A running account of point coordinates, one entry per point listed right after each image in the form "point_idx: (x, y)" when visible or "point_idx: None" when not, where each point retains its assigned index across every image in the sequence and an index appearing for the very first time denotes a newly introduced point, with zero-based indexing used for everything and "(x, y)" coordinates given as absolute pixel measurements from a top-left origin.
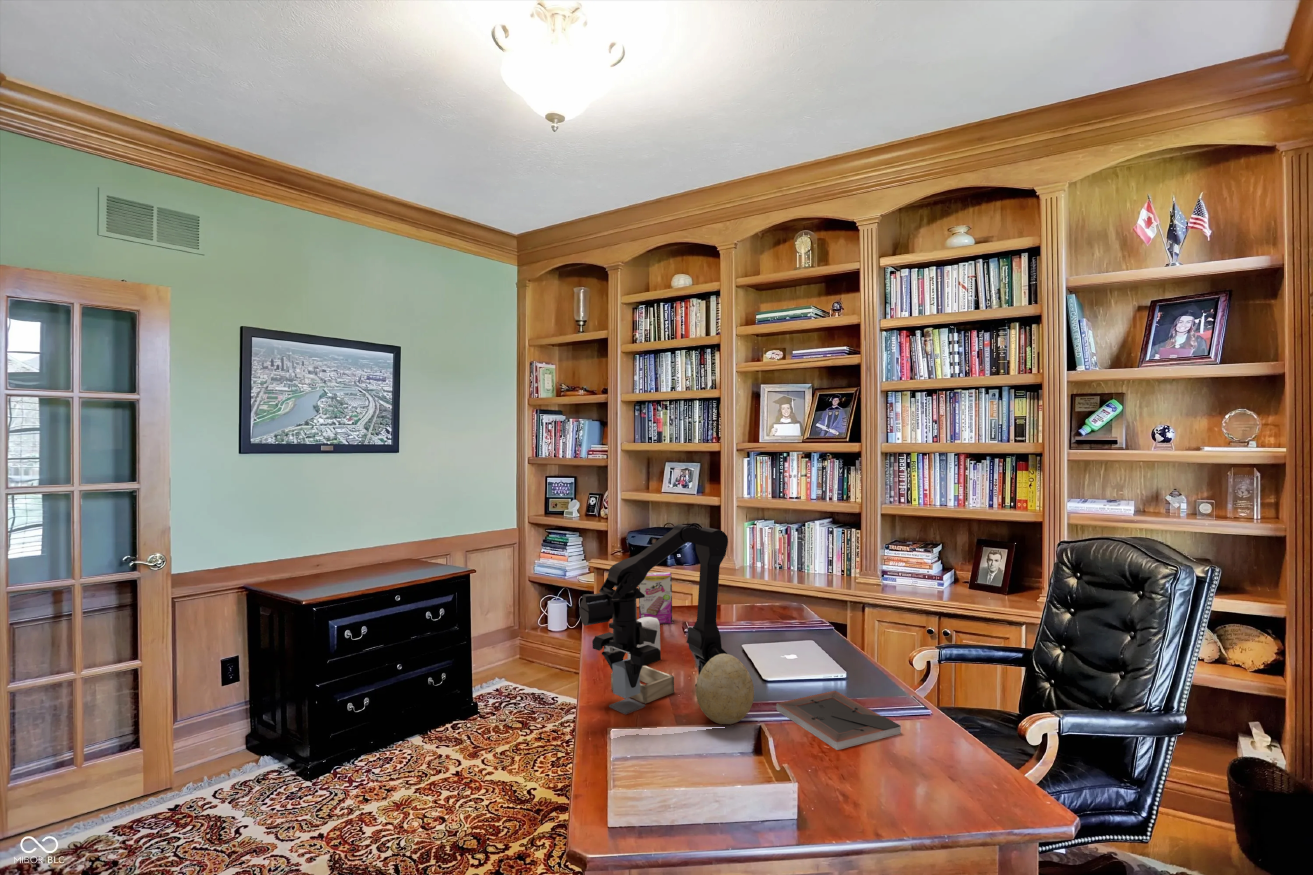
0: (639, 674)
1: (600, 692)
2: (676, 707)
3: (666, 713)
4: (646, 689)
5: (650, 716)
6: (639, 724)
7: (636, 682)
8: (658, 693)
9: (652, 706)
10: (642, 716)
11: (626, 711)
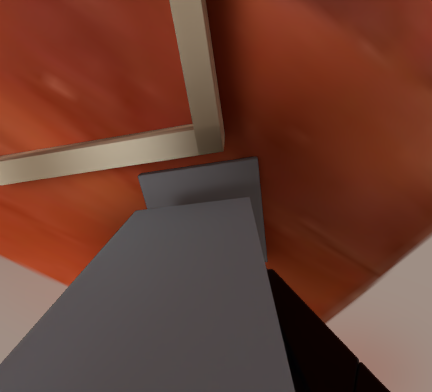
0: (268, 283)
1: (11, 223)
2: (384, 12)
3: (392, 113)
4: (221, 130)
5: (354, 192)
6: (374, 260)
7: (289, 291)
8: (207, 18)
9: (275, 123)
10: (327, 216)
11: (263, 254)
